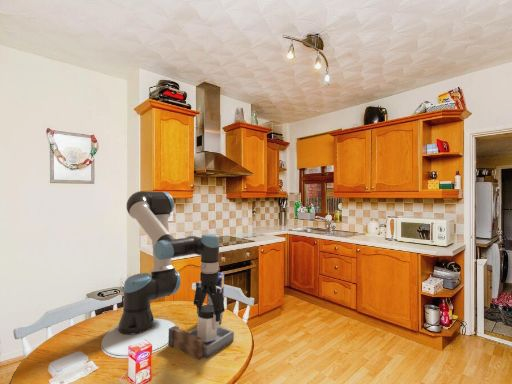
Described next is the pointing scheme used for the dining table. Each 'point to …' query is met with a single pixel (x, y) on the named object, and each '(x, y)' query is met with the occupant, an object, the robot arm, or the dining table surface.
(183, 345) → the door board
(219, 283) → the beverage box
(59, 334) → the dining table surface
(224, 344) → the tray
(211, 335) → the jar
